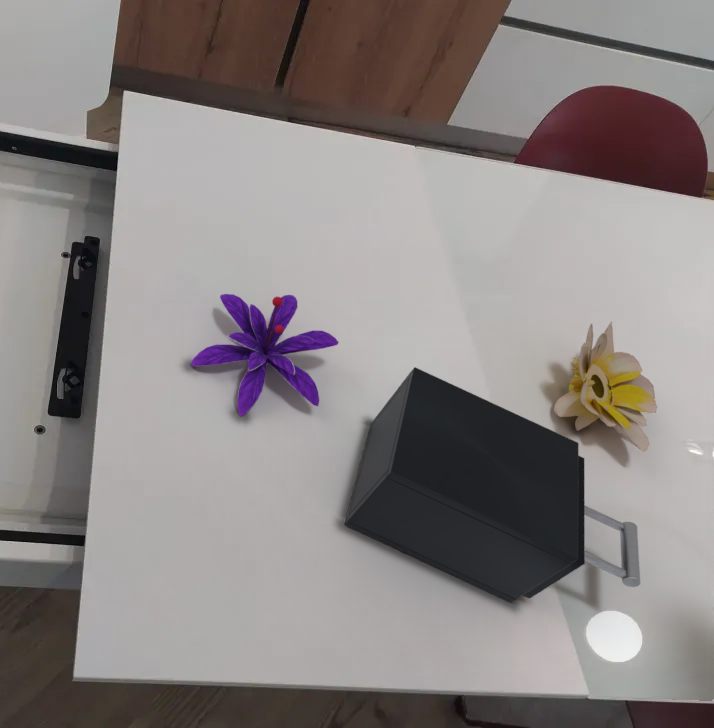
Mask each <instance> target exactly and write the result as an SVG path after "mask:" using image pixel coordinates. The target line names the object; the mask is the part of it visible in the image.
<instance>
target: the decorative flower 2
mask: <svg viewBox="0 0 714 728" xmlns="http://www.w3.org/2000/svg"><path fill="white" fill-rule="evenodd" d="M613 331H614V330H613V321H612V320H611V321H610V323H609V324H608V325H607V327H606V328H605V330H604V332H602V333H601V334H600V335H599V336H598V337H597V340H596V341H595V345H594V346H593V342H594V328H593V323H590V325H589V328H588V330H587V333H586V338H585V342H584V343H582V345H581V347H580V351H579V355H578V358H576V357H571V359H572V360H573V361H574V362H571V361H570V362H569V363H570V364H571V366H572V367H573V368H571V370H572V372H573V373H574V375H573V376H572V378H571V379H570V381H569V385H568V392H566V393H565V394H563V395H562V396H561V397H560V398H558V399H557V400H556V403H555V404H554V409H553V410H554V413H555V414H556V415H557V416H559V417H560V418H567V417H576V419H575V422H574V426H575V430H576V431H577V432H578V431H580V430H582V429H584V428H587V427H588V426H590V425H591V424H593V423H594V422H596V421H597V420H598V419H599V420H600V421H601V422H603V423H604V424H605V425H606V426H607V427H608V428H609V427H612V428H613V429H614V430H615V431H616V432H617V433H618V434H619V435H620V436H622V437H623V438H624V439H625V440H626V441H627V442H629V443H630V444H631V445H633V446H635V447H636V448H637V449H639V450H640V451H641V452H643V453H646V452H647V450H648V449H649V447H650V439H649V437H648V436H647V434H646V432H645V431H644V430H643V428H641V427H646V426H647V419H646V418H645V416H644V415H643V414H642V413H645V414H646V413H647V414H656V413H657V410H658V405H657V402H656V400H655V399H656V393H655V388H654V387H655V386H654V385H653V383H652V382H651V381H650V379H649V378H647V377H646V376H644V375H643V374H641V373H642V371H643V368H642V365H641V363H640V361H639V360H638V359H637V358H636V356H635V355H633V354H630V353H629V352H628V353H627V352H623V351H615V346H614V344H615V343H614V332H613ZM635 422H636V423H635ZM639 425H640V426H641V427H640V426H639Z"/></svg>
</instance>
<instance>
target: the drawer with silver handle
mask: <svg viewBox="0 0 714 728" xmlns="http://www.w3.org/2000/svg"><path fill="white" fill-rule="evenodd" d="M585 516H586V517H588V518H590V519H593V520H594V521H597V522H599V523H601V524H603V525H605V526H608V527H610V528H613V529H614V530H616V531H618V532H619V537H620V540H619V541H620V562H621V567H620V566H618V565H616V564H614V563H611V562H609V561H607V560H605V559H602V558H601V557H598V556H597V555H594V554H592V553H590V552H588V551H586V550H585V549H586V548H585V547H586V546H585V544H586V543H585V538H586V537H585V535H586V534H585V533H586V532H585V529H586V528H585V524H586V523H585ZM585 563H587V564H590V565H592V566H594V567H596V568H598V569H601V570H602V571H605V572H607V573H609V574H611V575H614V576H615V577H618V578H620V579H621V582H622V584H623V585H624V586H626V587H630V588H636V587H639V586H640V585H641V570H640V554H639V537H638V525H637V524H636V523H634V522H632V521H623V522H622V521H619V520H617V519H615V518H612V517H611V516H608V515H606V514H604V513H602V512H600V511H598V510H596V509H593V508H592V507H589V506H587V505H585V457H583V456H581V455H578V559H577V560H576V561H575V562H573V563H571V564H570V565H568V566H567V567H565V568H564V569H562V570H561V571H559V572H558V573H556V574H555V575H553V576H552V577H550V578H548V579H547V580H545V581H544V582H542V583H541V584H539V585H538V586H536V587H535V588H533V589H531V590H530V591H528V592H527V593H525V594H524V595H522V597H525V598H527V599H531V598H533V597H534V596H536V595H538V594H540V593H542V592H543V591H544V590H546V589H547V588H549V587H551V586H552V585H554V584H555V583H557V582H558V581H560V580H562V579H563V578H565V577H566V576H568V575H569V574H571V573H573V572H574V571H576V570H578V569H579V568H581V567H582V566H584V565H585Z"/></svg>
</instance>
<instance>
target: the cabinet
mask: <svg viewBox="0 0 714 728" xmlns="http://www.w3.org/2000/svg"><path fill="white" fill-rule="evenodd" d="M578 456H579V442H578V441H576V440H574V439H571V438H569V437H568V436H564V435H562V434H560V433H558V432H556V431H554V430H552V429H550V428H547V427H545V426H544V425H541V424H539V423H536V422H535V421H533V420H531V419H528V418H525V417H524V416H522V415H519V414H517V413H515V412H512V411H511V410H508V409H506V408H504V407H502V406H500V405H498V404H495V403H493V402H492V401H489V400H487V399H485V398H482V397H481V396H478V395H476V394H474V393H472V392H470V391H467V390H465V389H463V388H461V387H458V386H457V385H455V384H452V383H451V382H449V381H446V380H443V379H442V378H440V377H437V376H435V375H433V374H431V373H428V372H426V371H424V370H422V369H420V368H419V367H416V366H415V367H413V368H412V370H411V371H410V372H409V373H408V374H407V376H406V377H405V379H404V380H403V381H402V382H401V384H400V385H399V386H398V387H397V389H396V390H395V392H394V393H393V394H392V395H391V397H390V398H389V399H388V401H387V402H386V403H385V404H384V406H383V407H382V408H381V410H380V411H379V412H378V414H377V415H376V416H375V417H374V419H373V420H372V421H371V422H370V426H369V429H368V432H367V437H366V440H365V445H364V448H363V453H362V457H361V459H360V464H359V467H358V471H357V475H356V478H355V483H354V487H353V490H352V494H351V498H350V502H349V506H348V509H347V514H346V517H345V522H344V526H345V527H348V528H350V529H352V530H353V531H356V532H358V533H360V534H363V535H365V536H367V537H369V538H371V539H373V540H376V541H378V542H380V543H382V544H384V545H386V546H389V547H391V548H393V549H395V550H397V551H399V552H401V553H403V554H405V555H408V556H410V557H412V558H414V559H417V560H419V561H420V562H423V563H425V564H427V565H430V566H431V567H433V568H436V569H438V570H440V571H443V572H444V573H447V574H448V575H451V576H452V577H455V578H458V579H460V580H462V581H464V582H465V583H468V584H470V585H472V586H474V587H477V588H479V589H480V590H483V591H485V592H488V593H490V594H492V595H494V596H495V597H498V598H500V599H503V600H505V601H507V602H509V603H513V602H515V601H516V600H518V599H520V598H521V597H523V595H524V594H525V593H527V592H528V591H530V590H531V589H533V588H535V587H536V586H538V585H539V584H541V583H542V582H544V581H545V580H547V579H548V578H550V577H552V576H553V575H555V574H556V573H558V572H559V571H561V570H562V569H564V568H565V567H567V566H568V565H570V564H571V563H573V562H575V561H576V560H577V559H578Z"/></svg>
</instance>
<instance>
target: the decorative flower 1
mask: <svg viewBox="0 0 714 728" xmlns="http://www.w3.org/2000/svg"><path fill="white" fill-rule="evenodd" d="M219 298H220V301H221V302H222V304H223V307H224V308H225V310H226V311H227V313H228V314H229V315H230V316H231V318H232V319H233V320H234V322H235V323H236V324H237V325H238V327H239V328H240V330H241V332H239V331H238V332H233V333H230V334H228V335H227V336H226V337H227V338H228V339H229V340H231V341H233V342H235V343H237V344H239V345H235V344H234V345H233V344H213V345H211V346H207V347H205V348H204V349H202V350H201V351H199V352H198V353H197V354H196V355H195V356H194V357H193V358H192V360H191V362H190V366H193V367H205V366H217V365H223V364H228V363H235V362H242V361H247V371H246V372H245V374H244V375H243V377H242V379H241V381H240V382H239V383H240V384H239V387H238V391H237V412H238V415H239V416H240V417H242V416H243V415H246V414H247V413H248V412H249V411H250V409H252V407H253V406H254V405H255V404H256V402H257V401H258V399H259V397H260V395H261V394H262V392H263V390H264V389H263V388H264V385H265V380H266V374H267V367H268V365H269V366H271V367H272V368H273V369H274V370H275V371H276V372H277V373H279V375H280V376H281V377H282V378H283V379H284V380H285V381H286V382H287V383H288V384H289V385H290V386H291V387H292V388H294V390H296V392H298V393H299V394H300V395H301V396H302V397H303V398H304V399H306V400H307V401H308V402H309V403H310V404H311V405H313V406H316V407H319V404H320V395H319V390H318V386H317V384H316V382H315V381H314V379H313V378H312V377H311V375H310V374H309V373H308V372H306V371H305V370H303V369H302V368H301V367H300V366H297V365H295V363H294V362H293V361H292V360H291V359H290V357H289V356H286V355H288V354H295V353H303V352H309V351H316V350H321V349H326V348H331V347H335V346H338V344H339V340H338V339H337V338H336V337H335V336H334V335H332V334H330V332H327V331H324V330H310V331H309V330H308V331H306V332H302V333H299V334H297V335H293V336H292V335H291V336H290V337H288V338H285V339H282V340H281V341H279V339H280V337H281V336H282V334H284V332H285V331H286V329H287V328H288V325H289V324H290V322H291V320H292V319H293V317H294V315H295V314H296V312H297V309H298V299H297V297H295V295H294V294H287V295H286V294H285V295H283V296H274V297H273V298H272V301H271V302H272V305H273V306H274V307H273V310H272V312H271V315H270V319H269V322H268V325H267V321H266V318H265V316H264V314H263V312H262V311H261V309H259V308H258V307H257V306H256V305H255V304H252V303H250V304H249V306H248V304H247V303H246V301H244V300H243V299H242V298H241V297H240V296H237V295H236V294H231V293H223V294H220V296H219ZM278 341H279V342H278ZM277 342H278V343H277Z"/></svg>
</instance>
